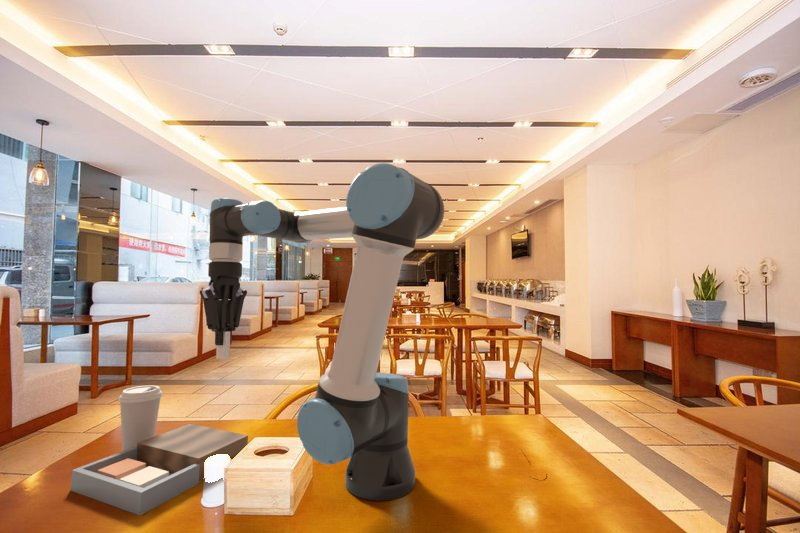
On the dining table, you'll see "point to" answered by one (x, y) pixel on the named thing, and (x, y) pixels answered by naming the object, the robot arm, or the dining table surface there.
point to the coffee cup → (139, 414)
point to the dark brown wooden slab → (188, 447)
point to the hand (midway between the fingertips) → (222, 358)
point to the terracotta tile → (122, 468)
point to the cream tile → (145, 476)
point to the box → (130, 485)
